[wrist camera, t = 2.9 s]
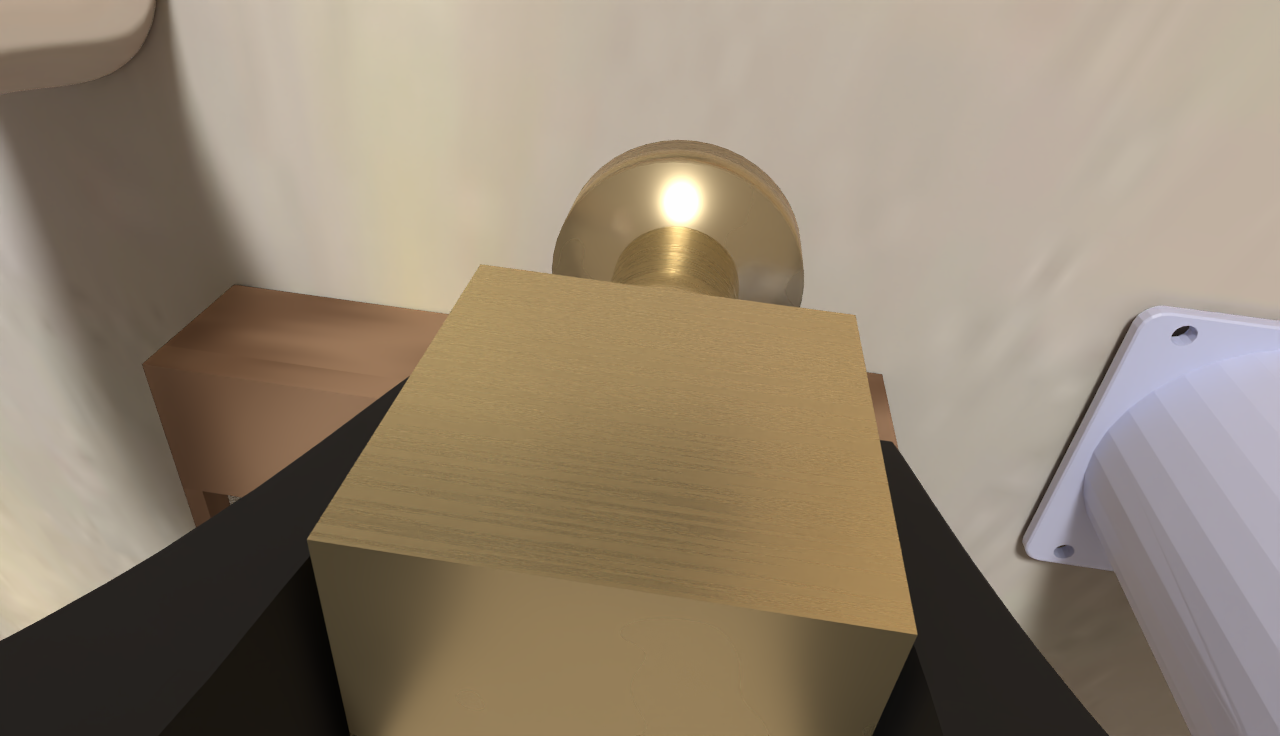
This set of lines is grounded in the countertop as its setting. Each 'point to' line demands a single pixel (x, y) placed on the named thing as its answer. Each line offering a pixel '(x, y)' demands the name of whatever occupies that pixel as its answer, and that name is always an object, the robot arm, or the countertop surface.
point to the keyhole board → (289, 383)
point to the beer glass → (68, 40)
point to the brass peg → (626, 490)
